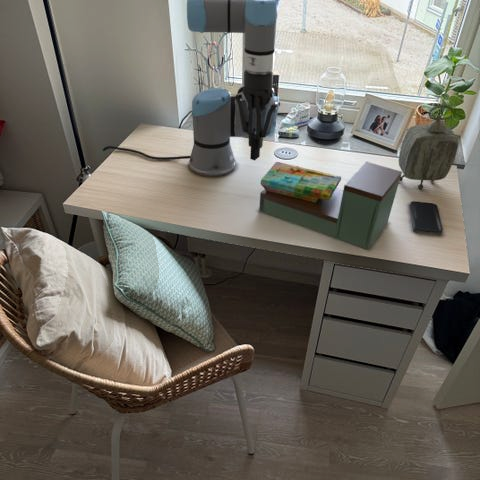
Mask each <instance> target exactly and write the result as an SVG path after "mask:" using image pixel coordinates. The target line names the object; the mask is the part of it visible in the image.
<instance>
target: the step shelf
mask: <svg viewBox="0 0 480 480" xmlns="http://www.w3.org/2000/svg"><path fill="white" fill-rule="evenodd" d="M402 175H403V172H402V170H397V169H394V168H390V167H387V166H384V165H380V164H376V163H374V162H373V163H372V162H370V161H365V162H364V163H363V165H361V167H360V168H358V169H357V171H356V172H355V173H354V174H353V175H352V176H351V177H350V178H349V179H348V180H347V181H346V183H344V185H343V189H342V188H339V187H337V188H336V189H335V191H334V193H333V194H332V196H331V198H330V200H323V199H318V201H316V202H311V201H307V200H303V199H298V198H294V197H290V196H286V195H282V194H278V193H273V192H269V191H266V190H265V189H264V188H263V190H262V191H260V192H259V193H260V194H259V209H258V211H259V212H261V213H264V214H267V215H269V216H272V217H275V218H279V219H281V220H284V221H287V222H290V223H291V224H294V225H298V226H301V227H304V228H307V229H309V230H313V231H315V232H318V233H321V234H323V235H326V236H329V237H332V238H334V239H338V240H341V241H344V242H347V243H349V244H352V245H354V246H358V247H360V248H363V249H366V250H370V248H371V247H372V245H373V244H374V243H375V241H376V239H377V238H378V237H379V235H381V233H382V231H384V229H385V228H386V226H387V224H388V223H389V219H390V216H391V212H392V208H393V205H394V201H395V198H396V195H397V191H398V187H399V184H400V182H401V181H400V177H402Z"/></svg>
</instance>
